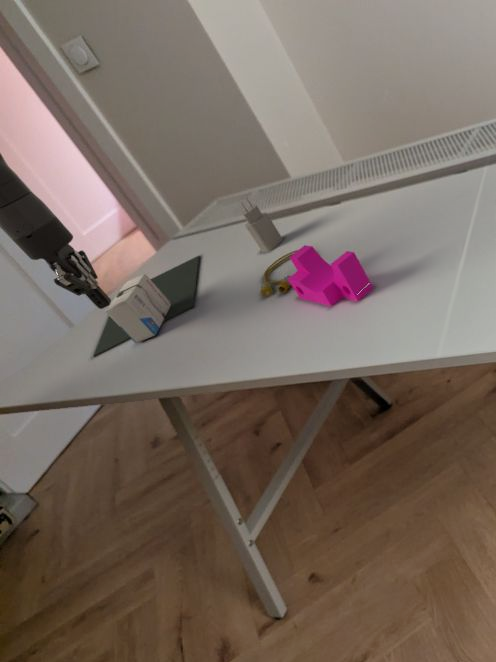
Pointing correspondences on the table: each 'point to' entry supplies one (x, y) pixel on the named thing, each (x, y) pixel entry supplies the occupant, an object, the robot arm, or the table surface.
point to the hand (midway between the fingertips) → (106, 305)
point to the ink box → (139, 308)
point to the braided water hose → (284, 282)
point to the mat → (175, 288)
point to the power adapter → (261, 228)
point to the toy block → (328, 277)
